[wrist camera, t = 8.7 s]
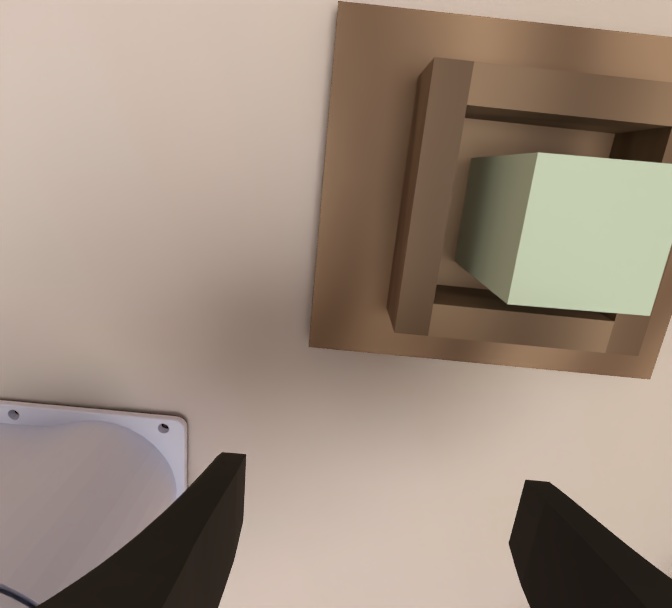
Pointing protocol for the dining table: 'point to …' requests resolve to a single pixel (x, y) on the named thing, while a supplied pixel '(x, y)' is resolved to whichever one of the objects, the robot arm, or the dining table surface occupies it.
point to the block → (568, 230)
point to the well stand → (452, 176)
